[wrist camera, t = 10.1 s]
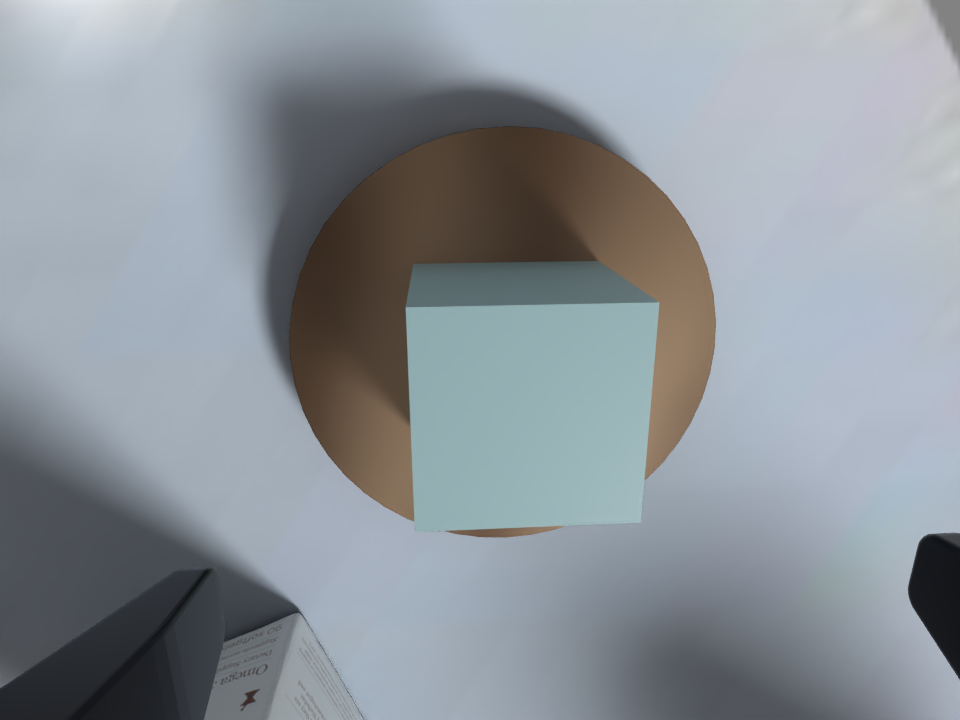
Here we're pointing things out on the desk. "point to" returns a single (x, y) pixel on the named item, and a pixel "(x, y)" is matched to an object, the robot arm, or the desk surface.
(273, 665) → the supplement box
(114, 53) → the desk surface
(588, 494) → the teal block
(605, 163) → the walnut base
